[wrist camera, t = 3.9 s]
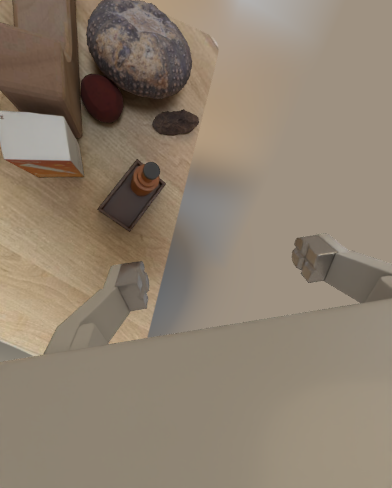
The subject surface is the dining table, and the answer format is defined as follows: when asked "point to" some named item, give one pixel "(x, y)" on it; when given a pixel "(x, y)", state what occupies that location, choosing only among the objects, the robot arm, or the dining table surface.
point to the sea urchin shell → (139, 48)
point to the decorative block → (42, 60)
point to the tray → (128, 201)
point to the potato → (101, 98)
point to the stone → (175, 122)
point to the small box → (40, 144)
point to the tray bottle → (145, 179)
